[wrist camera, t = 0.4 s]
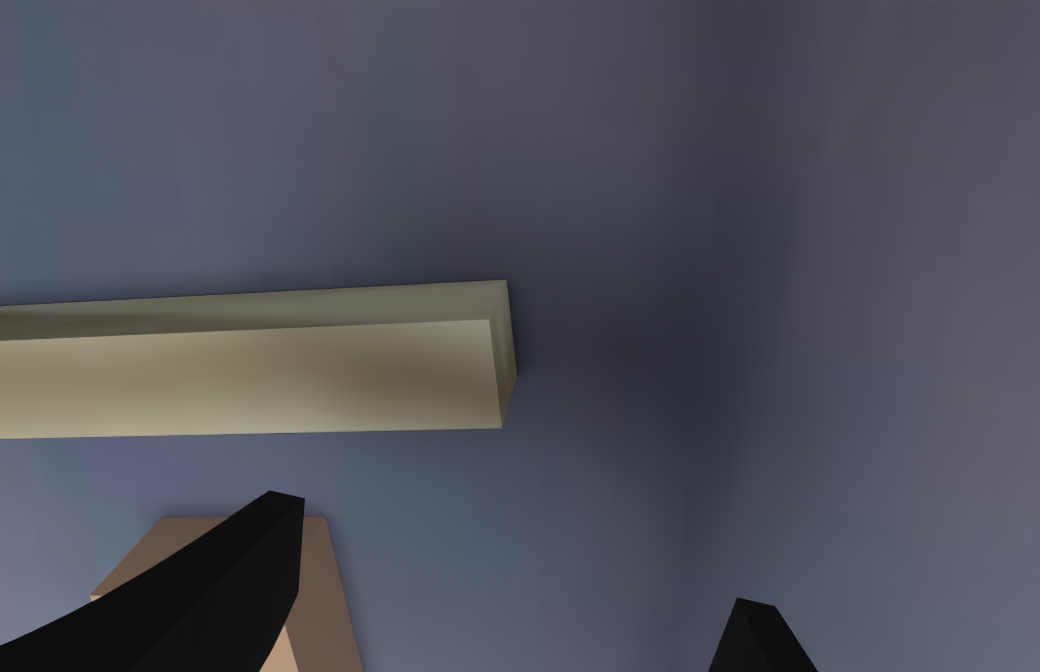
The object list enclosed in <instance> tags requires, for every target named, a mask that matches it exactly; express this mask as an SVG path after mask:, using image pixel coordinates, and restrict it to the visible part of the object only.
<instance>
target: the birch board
mask: <svg viewBox="0 0 1040 672" xmlns="http://www.w3.org/2000/svg"><path fill="white" fill-rule="evenodd" d="M516 379H517V370H516V361H515V351H514V342H513V333H512V324H511V315H510V305H509V296H508V287H507V280H489V281H470V282H451V283H432V284H413V285H394V286H375V287H356V288H337V289H318V290H299V291H280V292H261V293H242V294H223V295H204V296H184V297H165V298H146V299H127V300H108V301H89V302H70V303H51V304H32V305H13V306H0V439H8V438H56V437H104V436H152V435H200V434H247V433H295V432H343V431H391V430H439V429H487V428H502V427H503V423H504V420H505V417H506V413H507V410H508V406H509V403H510V400H511V396H512V393H513V389H514V386H515V382H516Z"/></svg>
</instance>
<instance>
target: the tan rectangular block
mask: <svg viewBox="0 0 1040 672" xmlns="http://www.w3.org/2000/svg"><path fill="white" fill-rule="evenodd" d="M227 518H229V517H162V518H161V519H160V520H159V521H158V522H157V523H156V524H155V525H154V527H153V528H152V529H151V530H150V531H149V532H148V533H147V534H146V535H145V536H144V537H143V538H142V540H141V541H140V542H139V543H138V544H137V545H136V546H135V547H134V548H133V549H132V550H131V551H130V553H129V554H128V555H127V556H126V557H125V558H124V559H123V560H122V561H121V562H120V563H119V564H118V565H117V567H116V568H115V569H114V570H113V571H112V572H111V573H110V574H109V575H108V576H107V577H106V578H105V580H104V581H103V582H102V583H101V584H100V585H99V586H98V587H97V588H96V589H95V590H94V591H93V593H92V594H91V595H90V597H91V600H92V601H94V600H96V599H98V598H99V597H101V596H103V595H105V594H106V593H108V592H110V591H112V590H113V589H115V588H117V587H118V586H120V585H122V584H124V583H125V582H127V581H129V580H131V579H132V578H134V577H136V576H137V575H139V574H141V573H143V572H144V571H146V570H148V569H149V568H151V567H153V566H154V565H156V564H158V563H159V562H161V561H162V560H164V559H166V558H167V557H169V556H170V555H172V554H173V553H175V552H177V551H178V550H180V549H181V548H183V547H184V546H186V545H188V544H189V543H191V542H192V541H194V540H195V539H197V538H199V537H200V536H202V535H203V534H205V533H206V532H208V531H209V530H211V529H212V528H214V527H215V526H217V525H218V524H220V523H221V522H223V521H224V520H226V519H227ZM259 672H363V668H362V664H361V659H360V655H359V651H358V647H357V643H356V639H355V635H354V631H353V627H352V623H351V619H350V615H349V611H348V607H347V603H346V599H345V595H344V591H343V586H342V582H341V578H340V574H339V570H338V566H337V562H336V558H335V554H334V550H333V546H332V542H331V538H330V534H329V530H328V526H327V522H326V518H325V516H304V520H303V535H302V549H301V564H300V579H299V593H298V595H297V597H296V600H295V602H294V604H293V606H292V609H291V611H290V613H289V615H288V618H287V620H286V622H285V624H284V626H283V628H282V631H281V633H280V635H279V637H278V639H277V641H276V643H275V645H274V647H273V650H272V651H271V653H270V655H269V656H268V658H267V660H266V661H265V663H264V665H263V666H262V668H261V670H260V671H259Z"/></svg>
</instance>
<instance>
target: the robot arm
mask: <svg viewBox="0 0 1040 672" xmlns="http://www.w3.org/2000/svg"><path fill="white" fill-rule="evenodd" d="M304 505H305V498H301V497H296V496H292V495H287V494H283V493H279V492H274V491H268V492H266V493H265V494H263V495H261V496H260V497H258V498H257V499H255V500H254V501H252V502H251V503H249V504H248V505H246V506H245V507H243V508H242V509H240V510H239V511H237V512H236V513H234V514H233V515H231V516H230V517H229V518H227V519H226V520H224V521H223V522H221V523H220V524H218V525H217V526H215V527H214V528H212V529H211V530H209V531H208V532H206V533H205V534H203V535H202V536H200V537H199V538H197V539H195V540H194V541H192V542H191V543H189V544H188V545H186V546H184V547H183V548H181V549H180V550H178V551H177V552H175V553H173V554H172V555H170V556H169V557H167V558H166V559H164V560H162V561H161V562H159V563H158V564H156V565H154V566H153V567H151V568H149V569H148V570H146V571H144V572H143V573H141V574H139V575H137V576H136V577H134V578H132V579H131V580H129V581H127V582H125V583H124V584H122V585H120V586H118V587H117V588H115V589H113V590H112V591H110V592H108V593H106V594H105V595H103V596H101V597H99V598H98V599H96V600H94V601H92V602H90V603H88V604H86V605H84V606H83V607H81V608H79V609H77V610H75V611H73V612H71V613H69V614H67V615H65V616H63V617H61V618H59V619H57V620H55V621H53V622H51V623H49V624H47V625H45V626H42V627H40V628H38V629H36V630H34V631H32V632H30V633H28V634H26V635H23V636H21V637H19V638H17V639H15V640H12V641H10V642H8V643H5V644H3V645H1V646H0V672H259V671H260V670H261V668H262V666H263V665H264V663H265V661H266V660H267V658H268V656H269V655H270V653H271V651H272V650H273V647H274V645H275V643H276V641H277V639H278V637H279V635H280V633H281V631H282V628H283V626H284V624H285V622H286V620H287V618H288V615H289V613H290V611H291V609H292V606H293V604H294V602H295V600H296V597H297V595H298V593H299V579H300V564H301V549H302V535H303V520H304ZM708 672H818V671H817V669H816V668H815V666H814V665H813V663H812V662H811V660H810V659H809V657H808V656H807V654H806V653H805V651H804V649H803V648H802V646H801V645H800V643H799V642H798V640H797V639H796V637H795V636H794V634H793V633H792V631H791V629H790V628H789V626H788V625H787V623H786V622H785V620H784V619H783V617H782V616H781V614H780V613H779V611H778V610H777V608H776V607H775V606H772V605H768V604H763V603H759V602H755V601H750V600H746V599H742V598H737V599H736V602H735V604H734V607H733V609H732V612H731V615H730V617H729V620H728V622H727V625H726V627H725V630H724V633H723V635H722V638H721V640H720V643H719V645H718V648H717V651H716V653H715V656H714V658H713V661H712V663H711V666H710V669H709V671H708Z"/></svg>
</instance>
